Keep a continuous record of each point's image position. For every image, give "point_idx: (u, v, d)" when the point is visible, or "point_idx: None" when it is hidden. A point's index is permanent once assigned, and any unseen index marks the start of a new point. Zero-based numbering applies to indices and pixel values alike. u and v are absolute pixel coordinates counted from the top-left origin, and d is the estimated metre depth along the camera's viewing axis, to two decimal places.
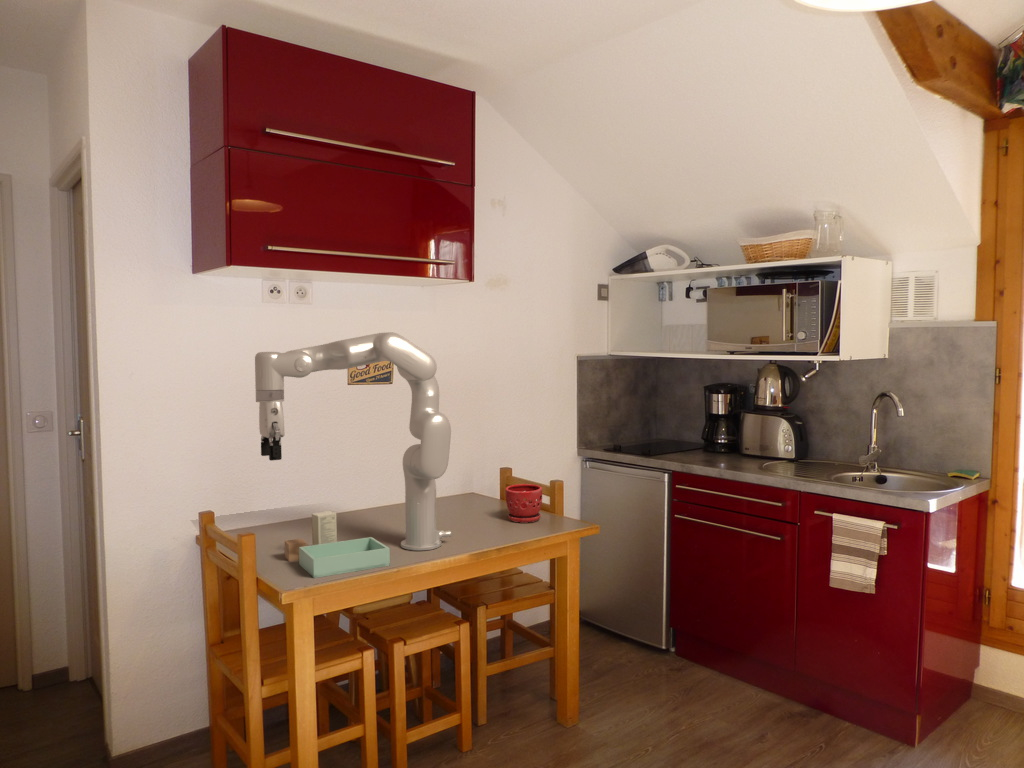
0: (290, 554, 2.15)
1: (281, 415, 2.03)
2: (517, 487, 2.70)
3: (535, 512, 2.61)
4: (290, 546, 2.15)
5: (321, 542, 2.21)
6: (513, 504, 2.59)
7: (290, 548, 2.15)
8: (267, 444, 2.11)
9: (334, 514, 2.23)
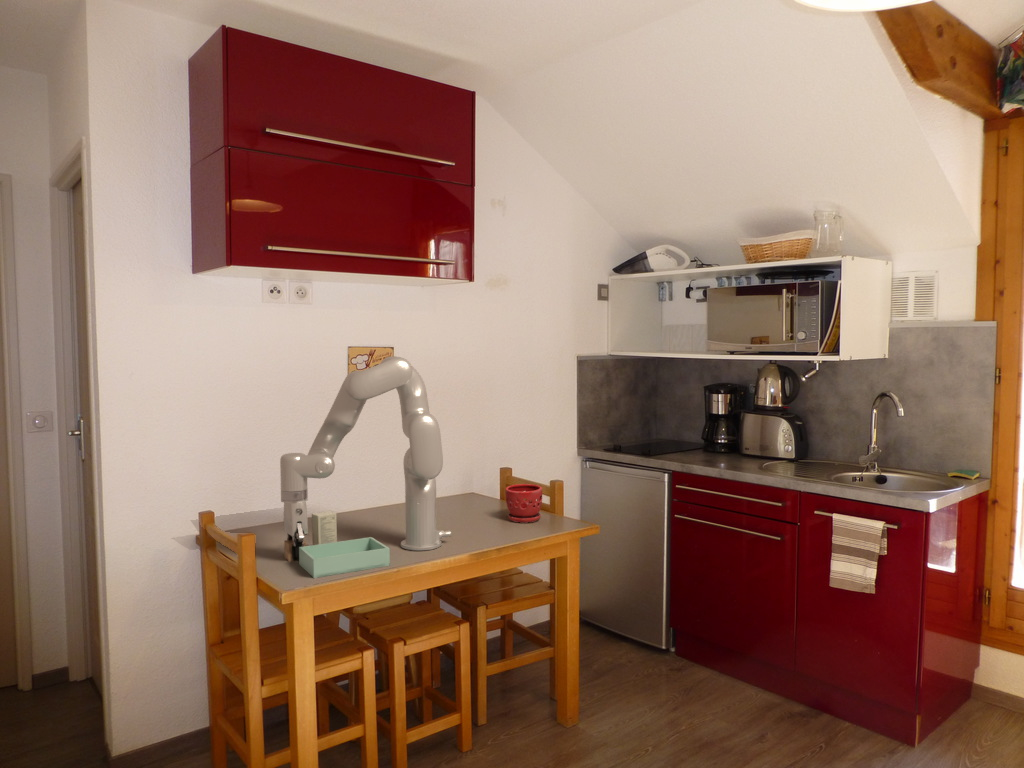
0: (290, 554, 2.15)
1: (305, 515, 2.15)
2: (517, 487, 2.70)
3: (535, 512, 2.61)
4: (290, 546, 2.15)
5: (321, 542, 2.21)
6: (513, 504, 2.59)
7: (290, 548, 2.15)
8: None
9: (334, 514, 2.23)
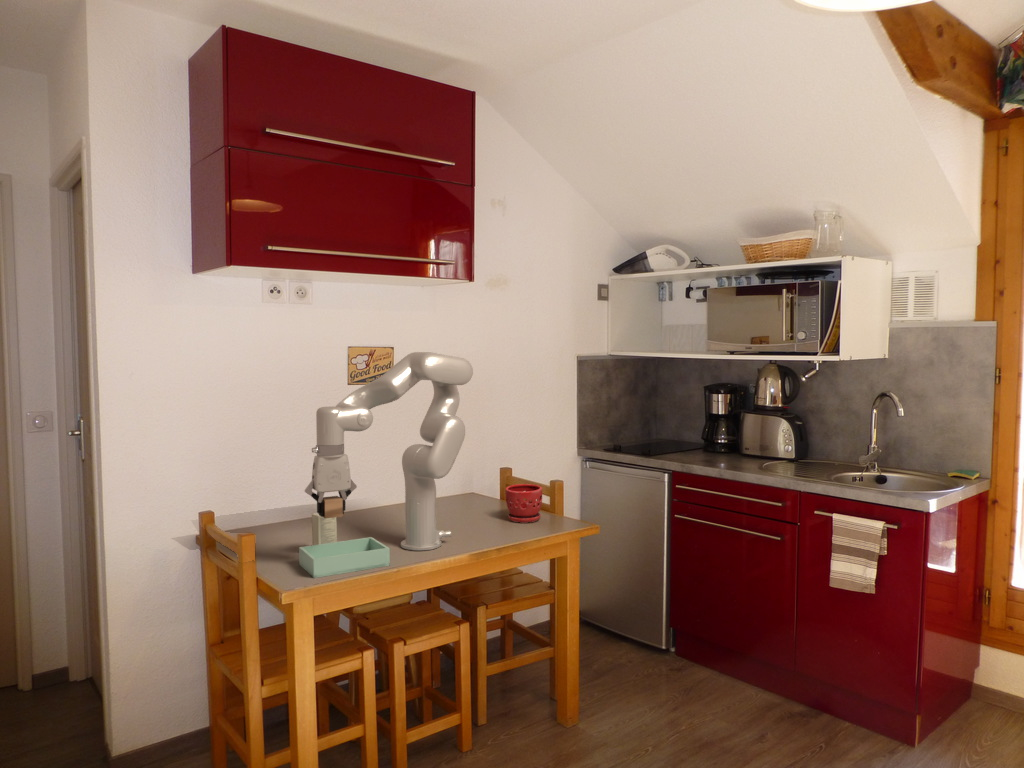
0: None
1: (315, 470, 2.05)
2: (517, 487, 2.70)
3: (535, 512, 2.61)
4: None
5: (321, 542, 2.21)
6: (513, 504, 2.59)
7: None
8: None
9: None
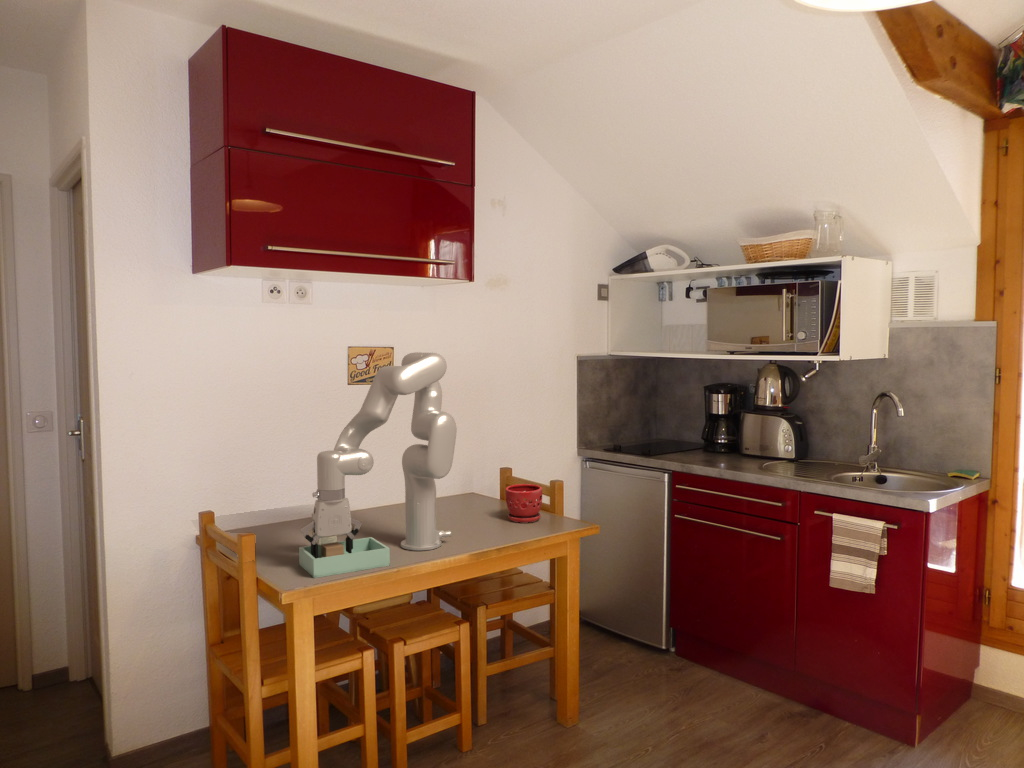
0: (321, 554, 2.11)
1: (316, 515, 2.06)
2: (517, 487, 2.70)
3: (535, 512, 2.61)
4: (321, 546, 2.11)
5: (321, 542, 2.21)
6: (513, 504, 2.59)
7: (321, 548, 2.11)
8: (347, 541, 2.13)
9: None
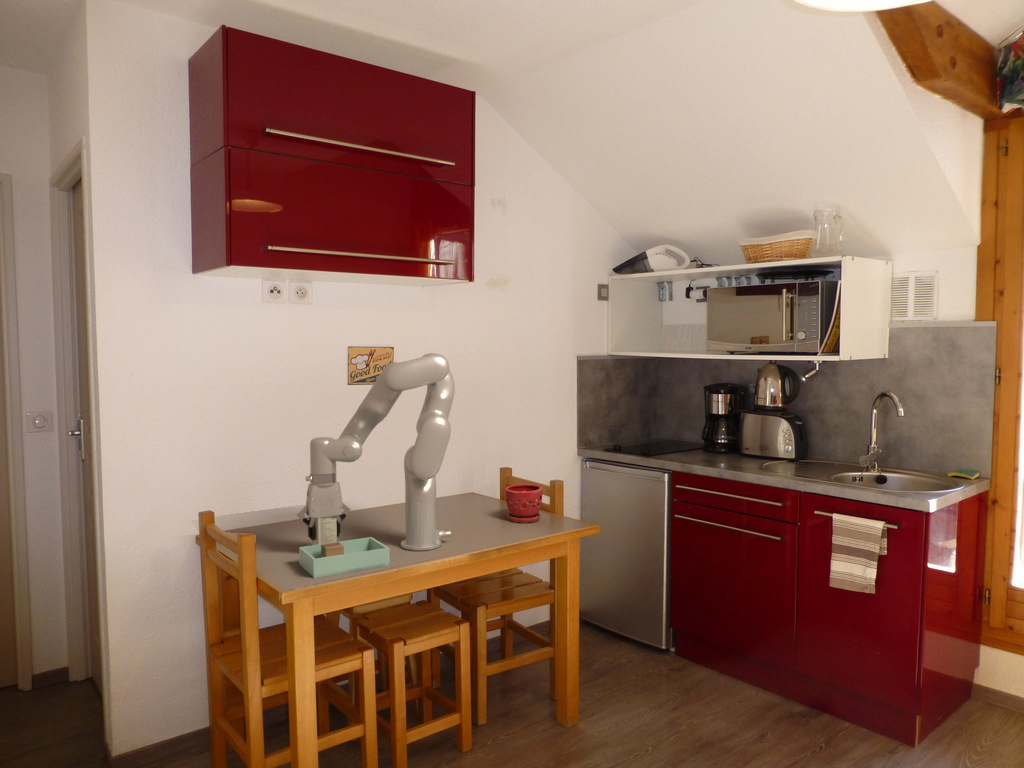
0: (321, 554, 2.11)
1: (309, 498, 2.19)
2: (517, 487, 2.70)
3: (535, 512, 2.61)
4: (321, 546, 2.11)
5: (321, 542, 2.21)
6: (513, 504, 2.59)
7: (321, 548, 2.11)
8: None
9: None
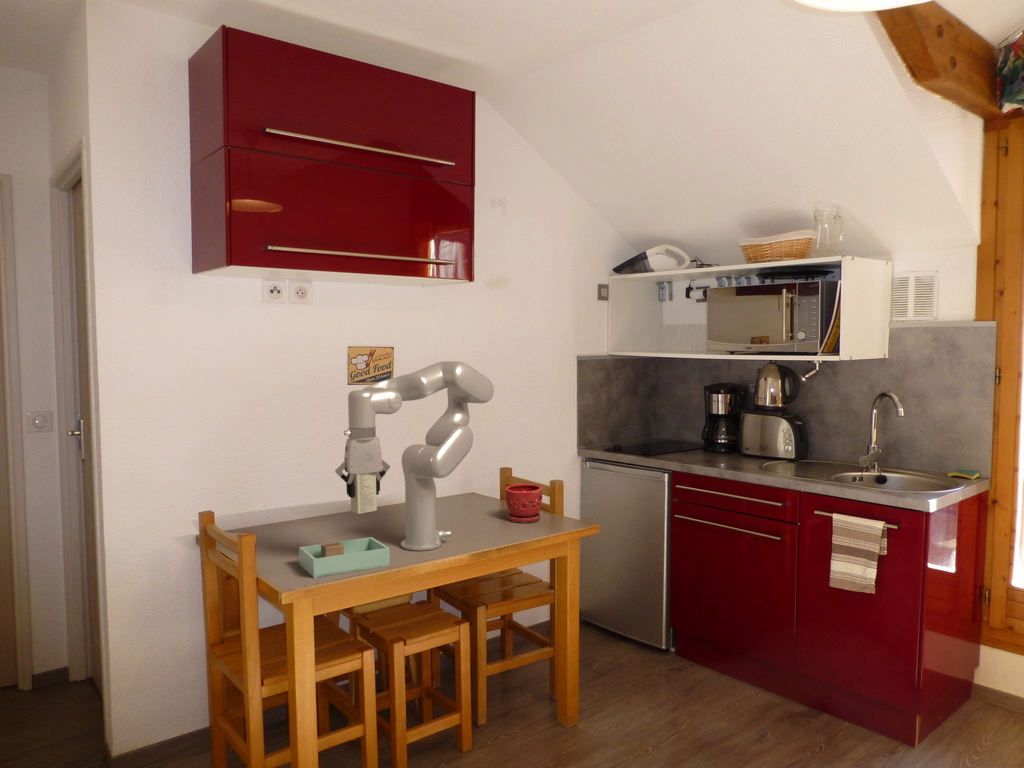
0: (321, 554, 2.11)
1: (348, 453, 2.09)
2: (517, 487, 2.70)
3: (535, 512, 2.61)
4: (321, 546, 2.11)
5: (360, 499, 2.10)
6: (513, 504, 2.59)
7: (321, 548, 2.11)
8: None
9: None
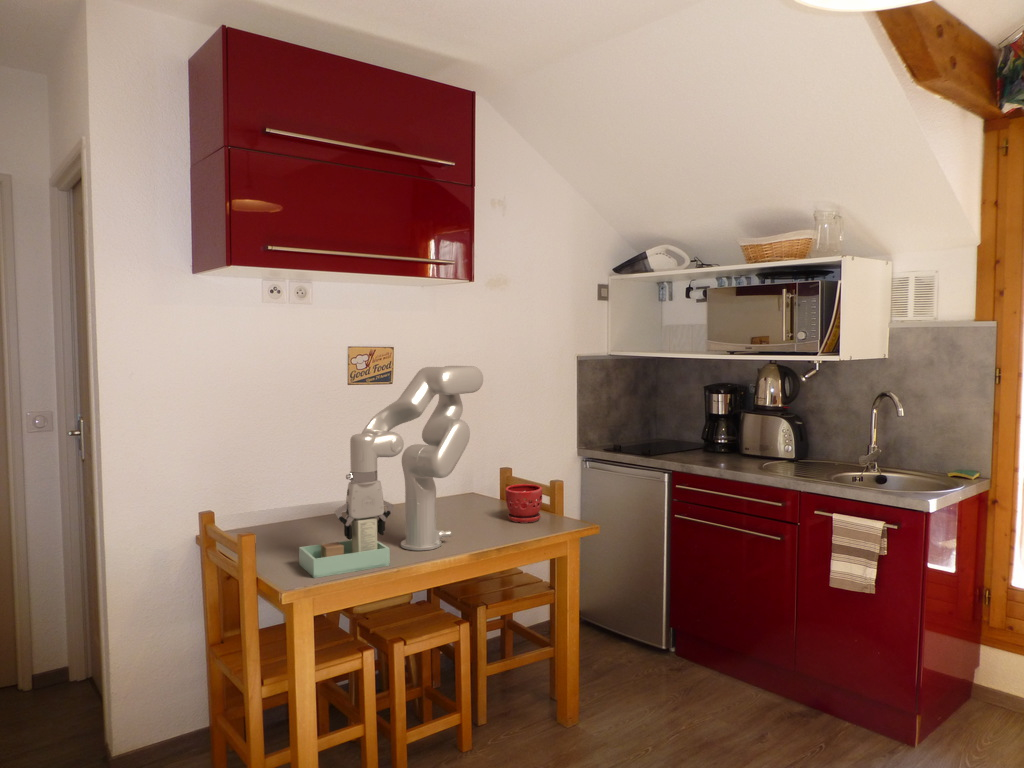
0: (321, 554, 2.11)
1: (350, 497, 2.09)
2: (517, 487, 2.70)
3: (535, 512, 2.61)
4: (321, 546, 2.11)
5: (361, 548, 2.11)
6: (513, 504, 2.59)
7: (321, 548, 2.11)
8: (379, 523, 2.16)
9: (374, 519, 2.13)
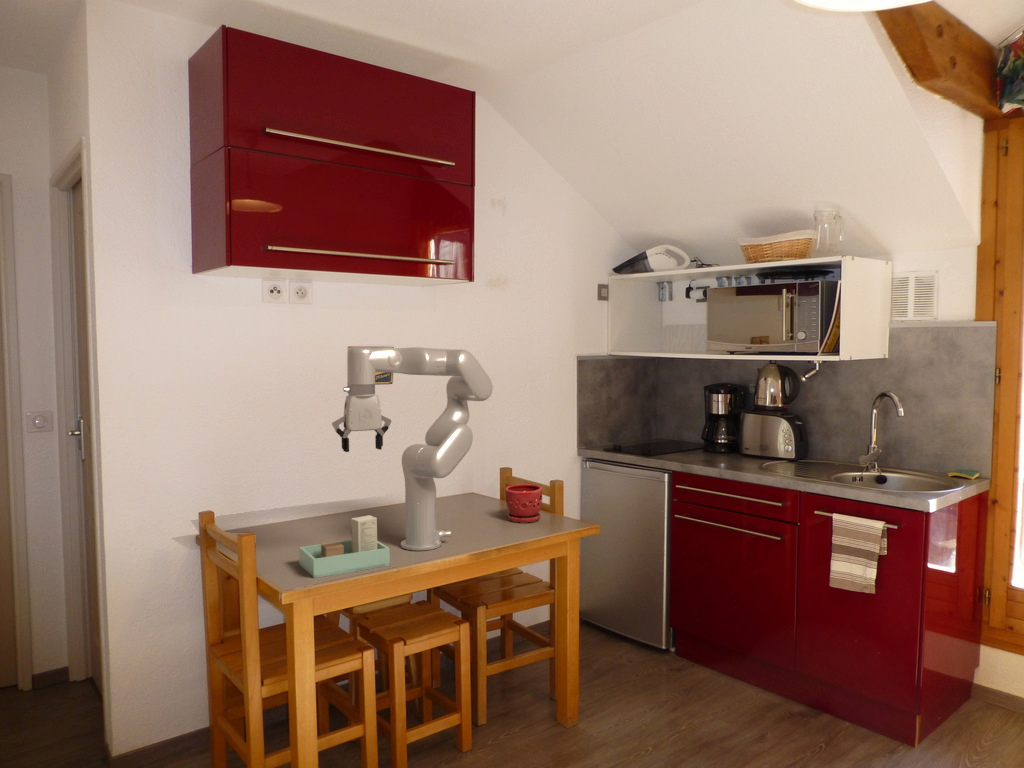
0: (321, 554, 2.11)
1: (347, 409, 2.08)
2: (517, 487, 2.70)
3: (535, 512, 2.61)
4: (321, 546, 2.11)
5: (361, 548, 2.11)
6: (513, 504, 2.59)
7: (321, 548, 2.11)
8: (377, 438, 2.15)
9: (374, 519, 2.13)
